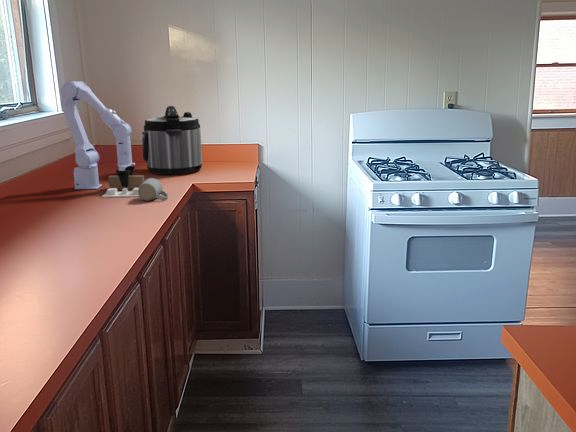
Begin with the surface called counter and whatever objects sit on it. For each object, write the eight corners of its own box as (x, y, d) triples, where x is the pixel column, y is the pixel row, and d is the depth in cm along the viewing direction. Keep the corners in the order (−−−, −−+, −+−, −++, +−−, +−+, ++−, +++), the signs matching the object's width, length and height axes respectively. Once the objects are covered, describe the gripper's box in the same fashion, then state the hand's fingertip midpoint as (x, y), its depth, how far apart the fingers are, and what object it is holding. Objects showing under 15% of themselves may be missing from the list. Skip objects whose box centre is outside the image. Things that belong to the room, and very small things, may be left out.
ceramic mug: (137, 201, 206) (136, 181, 204) (144, 196, 214) (143, 177, 212) (165, 202, 206) (164, 182, 204) (170, 197, 214) (169, 178, 212)
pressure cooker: (166, 164, 288) (162, 103, 280) (213, 167, 278) (211, 104, 270) (131, 174, 261) (126, 107, 253) (183, 178, 251) (179, 108, 243)
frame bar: (109, 189, 228) (108, 176, 226) (111, 188, 231) (110, 175, 229) (143, 189, 229) (142, 176, 227) (144, 187, 232) (143, 175, 230)
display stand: (102, 197, 213) (101, 191, 212) (107, 193, 221) (106, 187, 220) (143, 196, 214) (143, 190, 213) (147, 192, 222) (146, 186, 221)
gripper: (130, 155, 219) (133, 188, 223) (137, 150, 233) (139, 181, 237) (112, 155, 219) (115, 188, 222) (120, 150, 233) (123, 181, 236)
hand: (126, 184), depth 229 cm, fingers open, 7 cm apart
